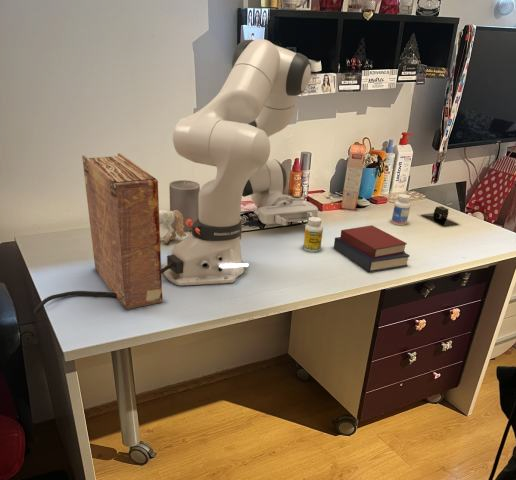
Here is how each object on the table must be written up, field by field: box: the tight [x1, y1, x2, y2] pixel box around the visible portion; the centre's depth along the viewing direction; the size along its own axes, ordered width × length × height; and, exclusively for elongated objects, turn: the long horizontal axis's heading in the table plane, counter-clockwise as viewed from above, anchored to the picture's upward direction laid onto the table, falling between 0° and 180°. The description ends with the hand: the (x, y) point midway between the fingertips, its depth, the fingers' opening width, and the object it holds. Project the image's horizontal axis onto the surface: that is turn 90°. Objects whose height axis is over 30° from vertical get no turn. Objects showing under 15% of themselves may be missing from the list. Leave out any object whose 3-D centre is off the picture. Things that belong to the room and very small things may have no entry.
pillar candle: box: [168, 179, 201, 232], centre depth 172 cm, size 10×10×15 cm
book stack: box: [333, 224, 411, 273], centre depth 161 cm, size 14×19×6 cm
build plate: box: [420, 205, 459, 228], centre depth 195 cm, size 12×7×5 cm, turn 26°
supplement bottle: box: [303, 216, 324, 253], centre depth 163 cm, size 5×5×10 cm
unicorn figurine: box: [159, 209, 187, 245], centre depth 159 cm, size 7×20×13 cm, turn 117°
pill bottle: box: [391, 193, 411, 226], centre depth 188 cm, size 6×5×10 cm
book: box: [81, 152, 163, 310], centre depth 129 cm, size 25×9×30 cm, turn 31°
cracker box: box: [340, 144, 367, 211], centre depth 200 cm, size 14×6×21 cm, turn 168°
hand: (299, 221), depth 169 cm, fingers open, 8 cm apart
